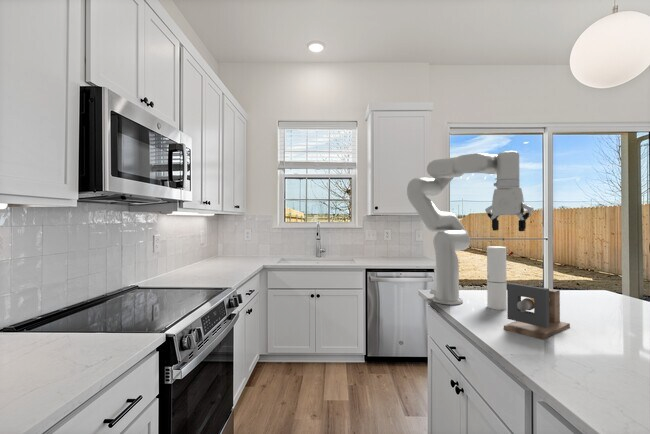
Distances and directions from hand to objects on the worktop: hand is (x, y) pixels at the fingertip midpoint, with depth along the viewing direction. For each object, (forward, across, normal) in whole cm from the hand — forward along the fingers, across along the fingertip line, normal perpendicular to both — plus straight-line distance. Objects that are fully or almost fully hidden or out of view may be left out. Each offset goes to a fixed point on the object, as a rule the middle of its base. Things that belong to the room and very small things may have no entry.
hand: (508, 230), depth 129 cm
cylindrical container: (+32, -10, +10) cm, 35 cm away
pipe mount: (+32, +12, -5) cm, 35 cm away
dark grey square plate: (+29, +12, -12) cm, 34 cm away
